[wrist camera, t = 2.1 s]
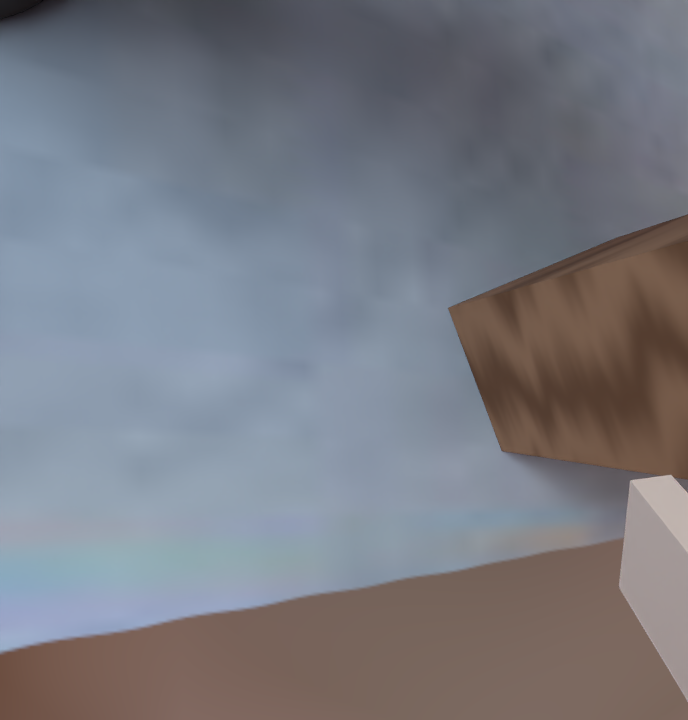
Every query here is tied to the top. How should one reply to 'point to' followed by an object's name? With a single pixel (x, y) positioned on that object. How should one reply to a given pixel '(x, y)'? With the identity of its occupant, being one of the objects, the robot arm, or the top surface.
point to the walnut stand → (590, 355)
